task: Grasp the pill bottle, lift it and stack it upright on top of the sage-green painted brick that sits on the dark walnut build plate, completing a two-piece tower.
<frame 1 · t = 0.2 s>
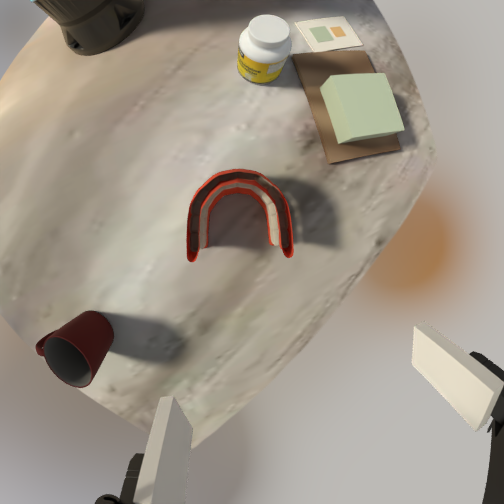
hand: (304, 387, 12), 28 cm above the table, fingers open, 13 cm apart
denture model: (237, 210, 38), on the table
pill bottle: (258, 68, 34), on the table
mug 2: (88, 328, 40), on the table
instruction page: (329, 33, 32), on the table
brick: (355, 111, 35), point 1 cm above the table, touching build plate
build plate: (348, 101, 35), on the table
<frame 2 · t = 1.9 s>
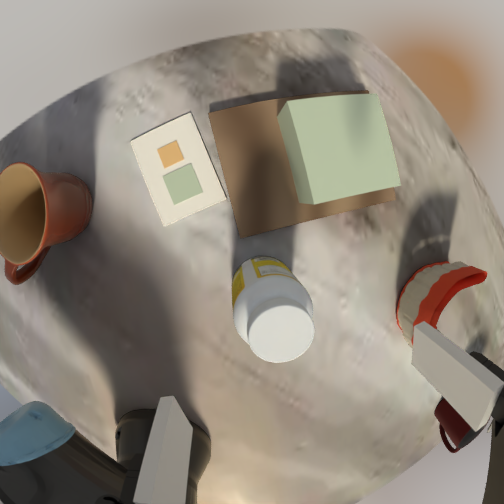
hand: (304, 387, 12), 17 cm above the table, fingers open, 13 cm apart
denture model: (416, 300, 32), on the table
pill bottle: (261, 283, 29), on the table
mug 2: (443, 407, 39), on the table
instruction page: (176, 168, 26), on the table
brick: (329, 151, 26), point 1 cm above the table, touching build plate
build plate: (308, 155, 27), on the table
mug: (67, 218, 26), on the table
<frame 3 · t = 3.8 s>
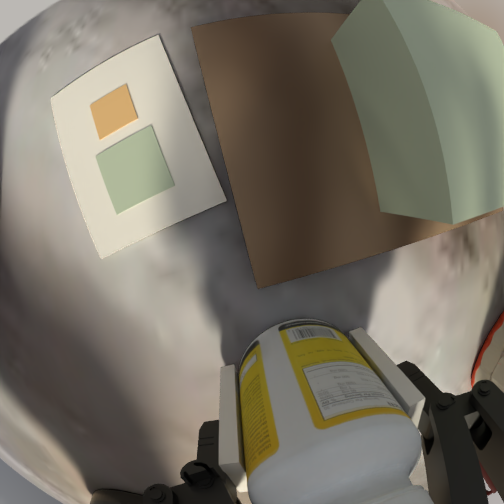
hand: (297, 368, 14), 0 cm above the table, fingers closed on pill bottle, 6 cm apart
denture model: (493, 348, 17), on the table
pill bottle: (294, 361, 15), on the table, touching gripper
mug 2: (481, 448, 24), on the table
instruction page: (123, 138, 11), on the table
brick: (425, 115, 11), point 1 cm above the table, touching build plate
build plate: (387, 120, 12), on the table
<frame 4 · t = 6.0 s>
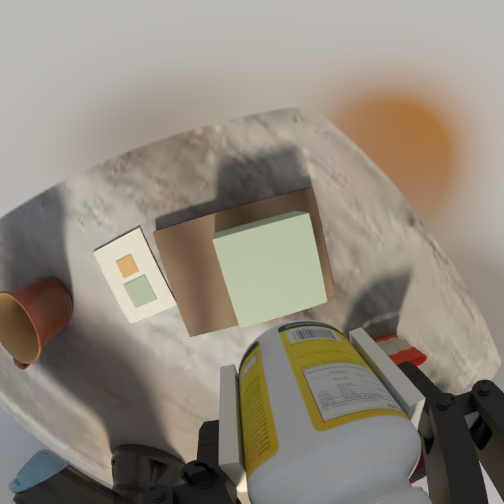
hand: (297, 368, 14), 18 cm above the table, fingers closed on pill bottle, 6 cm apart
denture model: (361, 368, 36), on the table
pill bottle: (294, 362, 15), point 17 cm above the table, touching gripper
mug 2: (403, 442, 43), on the table
instruction page: (133, 278, 30), on the table
brick: (266, 261, 30), point 1 cm above the table, touching build plate
build plate: (247, 263, 31), on the table
mug: (54, 308, 30), on the table
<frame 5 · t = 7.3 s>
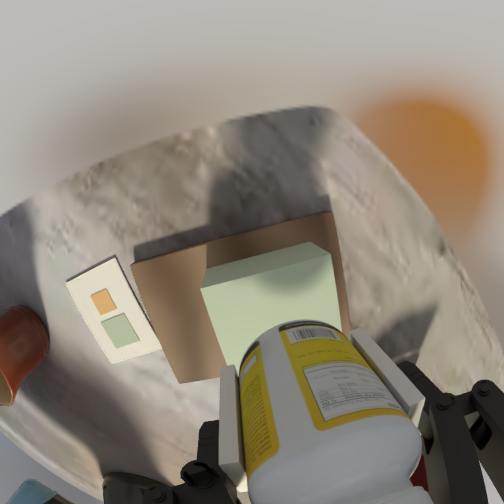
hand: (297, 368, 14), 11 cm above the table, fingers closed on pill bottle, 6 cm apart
pill bottle: (294, 362, 15), point 10 cm above the table, touching gripper
mug 2: (407, 468, 37), on the table
instruction page: (112, 315, 24), on the table
brick: (270, 303, 24), point 1 cm above the table, touching build plate
build plate: (247, 304, 25), on the table
mug: (31, 338, 24), on the table
when the fingers open (8 cm above the table, at t = 8.2 s): pill bottle drops 1 cm, resting on brick.
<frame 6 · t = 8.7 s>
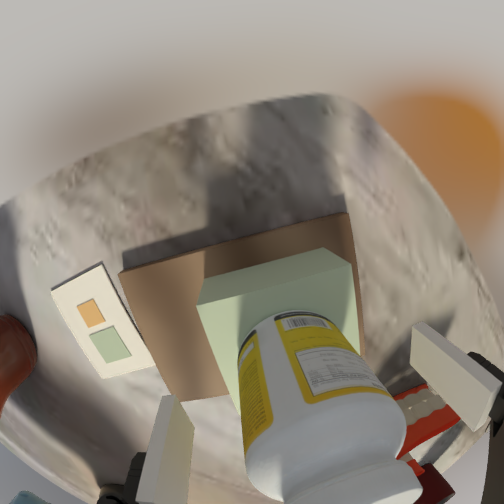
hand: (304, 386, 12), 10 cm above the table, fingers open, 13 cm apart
denture model: (383, 421, 27), on the table
pill bottle: (289, 351, 16), point 6 cm above the table, touching brick
mug 2: (413, 476, 34), on the table
instruction page: (100, 328, 21), on the table
brick: (277, 317, 21), point 1 cm above the table, touching build plate, pill bottle
build plate: (251, 317, 22), on the table
mug: (19, 348, 21), on the table
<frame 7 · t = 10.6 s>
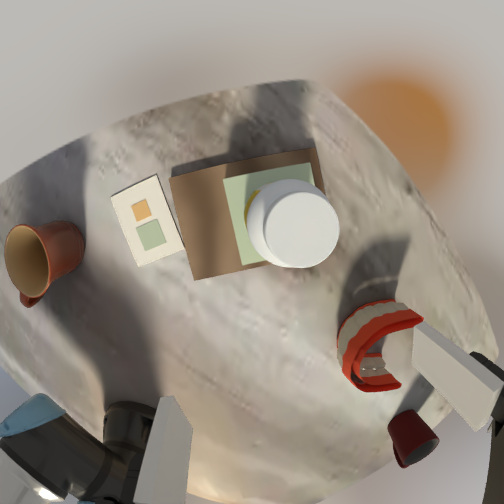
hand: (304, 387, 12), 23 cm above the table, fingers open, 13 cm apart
denture model: (359, 332, 38), on the table
pill bottle: (275, 213, 28), point 6 cm above the table, touching brick
mug 2: (398, 424, 45), on the table
instruction page: (146, 222, 33), on the table
brick: (270, 210, 32), point 1 cm above the table, touching build plate, pill bottle
build plate: (253, 212, 33), on the table
mug: (66, 253, 33), on the table
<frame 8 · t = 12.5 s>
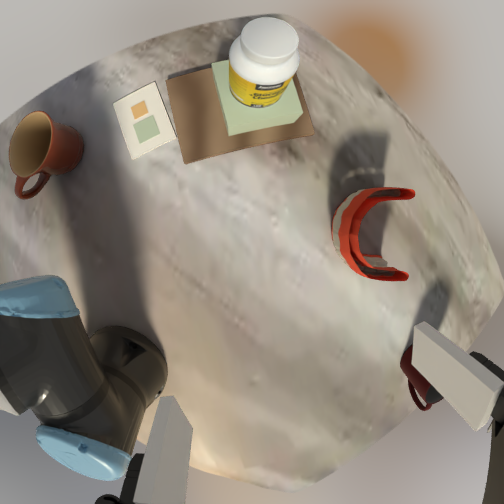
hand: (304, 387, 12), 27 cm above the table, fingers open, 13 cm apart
denture model: (354, 227, 39), on the table
pill bottle: (256, 86, 28), point 6 cm above the table, touching brick
mug 2: (411, 362, 46), on the table
instruction page: (143, 119, 33), on the table
brick: (253, 99, 32), point 1 cm above the table, touching build plate, pill bottle
build plate: (238, 104, 34), on the table
mug: (64, 161, 33), on the table
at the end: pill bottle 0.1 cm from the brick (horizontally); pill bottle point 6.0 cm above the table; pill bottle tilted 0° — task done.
